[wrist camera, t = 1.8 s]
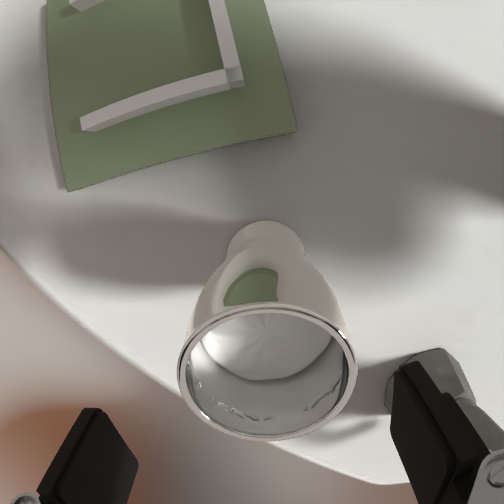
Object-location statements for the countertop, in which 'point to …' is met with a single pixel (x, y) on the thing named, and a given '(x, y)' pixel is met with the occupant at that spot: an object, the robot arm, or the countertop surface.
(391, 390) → the coffeepot
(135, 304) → the countertop surface
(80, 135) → the plate
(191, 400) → the beer glass
